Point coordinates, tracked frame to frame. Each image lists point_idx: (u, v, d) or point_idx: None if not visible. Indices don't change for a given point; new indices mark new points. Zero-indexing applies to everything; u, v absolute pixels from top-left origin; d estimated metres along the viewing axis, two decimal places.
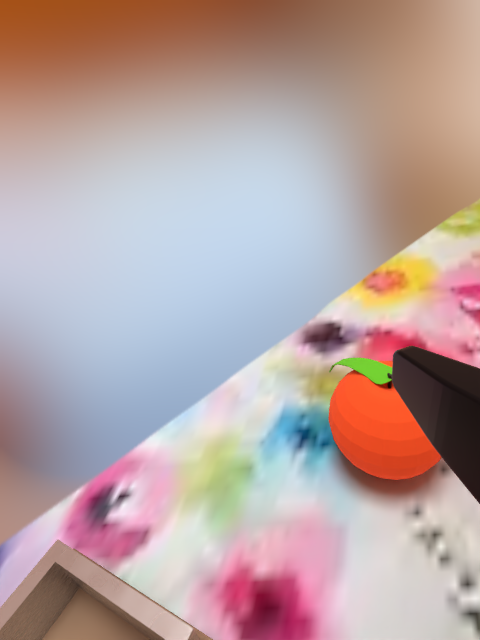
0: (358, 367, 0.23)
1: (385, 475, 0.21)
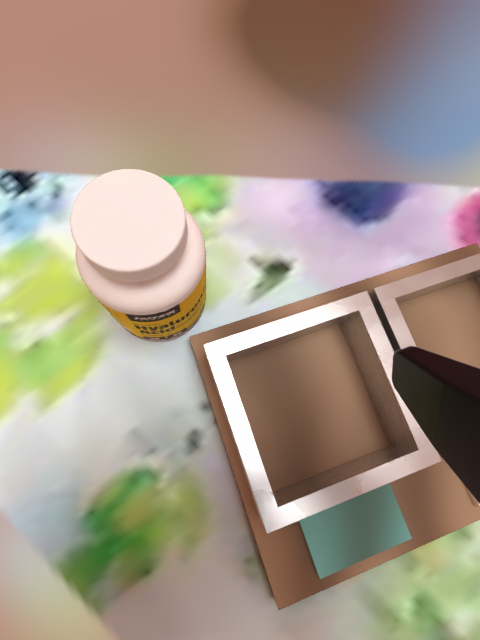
0: None
1: None
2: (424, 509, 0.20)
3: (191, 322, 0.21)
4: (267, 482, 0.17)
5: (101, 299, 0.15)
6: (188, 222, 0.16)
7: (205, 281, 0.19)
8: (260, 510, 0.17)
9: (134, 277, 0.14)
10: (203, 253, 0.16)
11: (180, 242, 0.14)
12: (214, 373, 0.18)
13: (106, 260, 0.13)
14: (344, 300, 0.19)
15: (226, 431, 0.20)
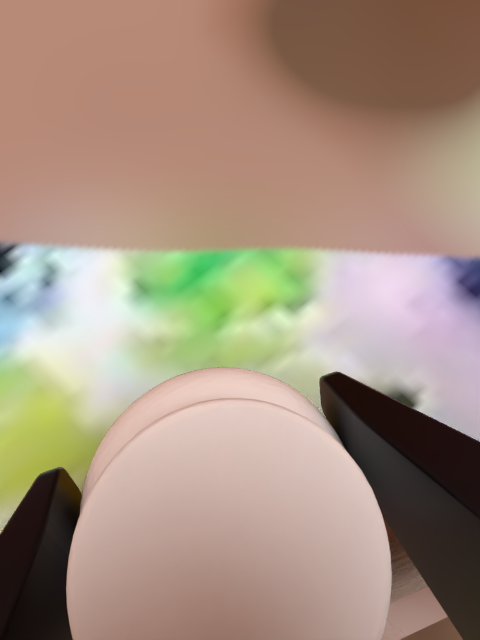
0: None
1: None
2: None
3: None
4: None
5: None
6: None
7: None
8: None
9: None
10: None
11: None
12: None
13: None
14: None
15: None
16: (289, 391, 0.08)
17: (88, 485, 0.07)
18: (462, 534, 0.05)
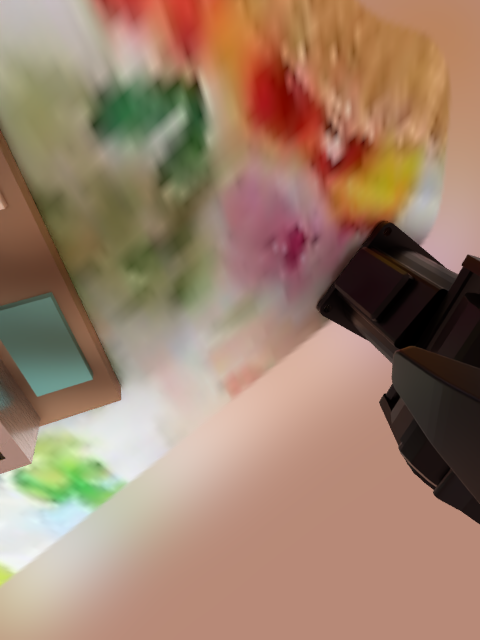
0: None
1: None
2: (19, 269, 0.17)
3: None
4: None
5: None
6: None
7: None
8: (10, 469, 0.18)
9: None
10: None
11: None
12: None
13: None
14: None
15: None
16: None
17: None
18: None
